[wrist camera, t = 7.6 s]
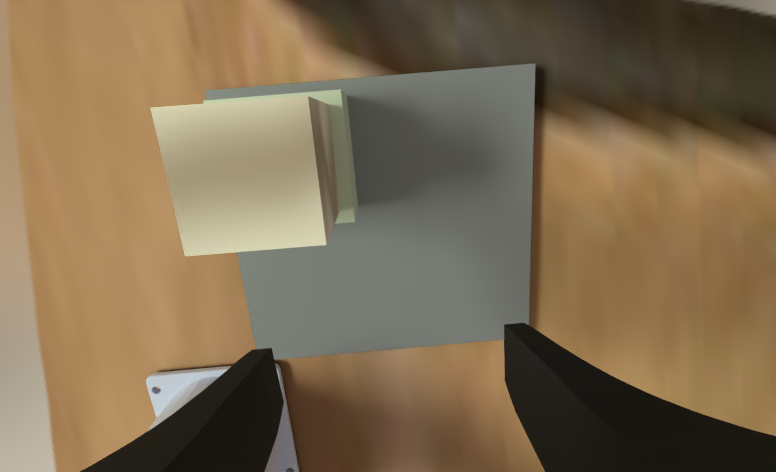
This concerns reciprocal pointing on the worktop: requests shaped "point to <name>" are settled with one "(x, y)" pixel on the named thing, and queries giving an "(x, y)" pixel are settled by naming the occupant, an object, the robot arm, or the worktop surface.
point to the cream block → (250, 173)
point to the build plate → (411, 220)
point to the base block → (340, 145)
